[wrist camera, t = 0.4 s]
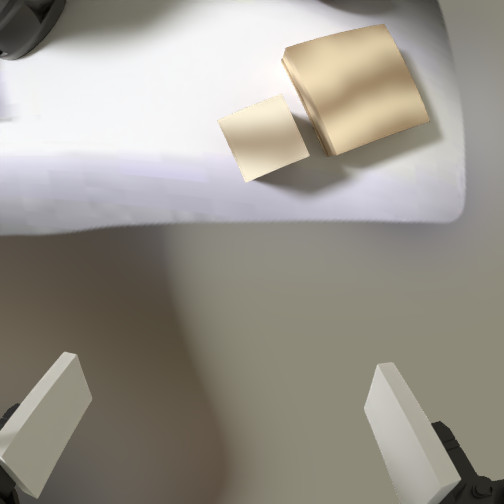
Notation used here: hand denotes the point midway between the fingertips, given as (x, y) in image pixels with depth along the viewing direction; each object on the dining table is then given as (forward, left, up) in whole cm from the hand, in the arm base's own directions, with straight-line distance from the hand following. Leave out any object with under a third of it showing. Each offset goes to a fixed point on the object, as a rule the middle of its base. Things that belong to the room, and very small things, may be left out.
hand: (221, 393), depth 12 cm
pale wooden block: (-10, +7, -24) cm, 27 cm away
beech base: (-12, +19, -25) cm, 33 cm away
